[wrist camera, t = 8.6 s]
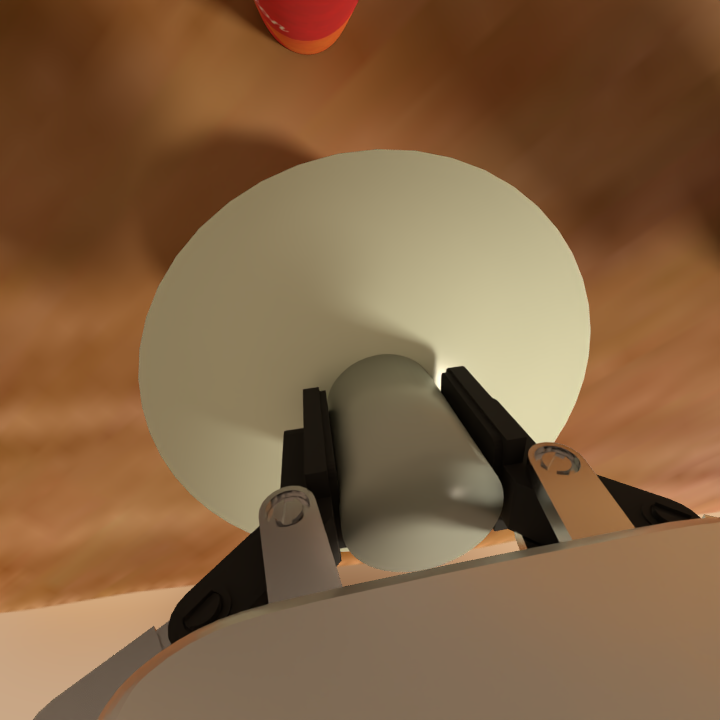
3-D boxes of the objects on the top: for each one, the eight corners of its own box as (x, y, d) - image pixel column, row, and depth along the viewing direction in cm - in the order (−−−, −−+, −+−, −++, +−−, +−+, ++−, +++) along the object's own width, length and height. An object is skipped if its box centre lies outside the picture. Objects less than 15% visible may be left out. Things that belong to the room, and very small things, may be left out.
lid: (647, 326, 15) (848, 409, 9) (408, 565, 19) (450, 713, 14) (306, 1, 9) (316, -279, 3) (80, 458, 13) (-65, 643, 8)
